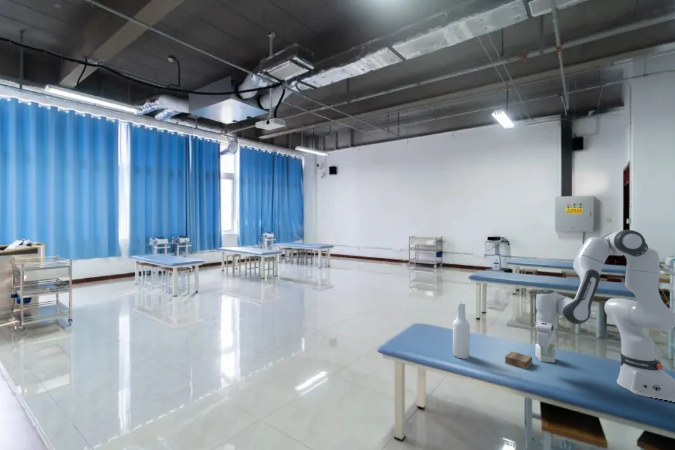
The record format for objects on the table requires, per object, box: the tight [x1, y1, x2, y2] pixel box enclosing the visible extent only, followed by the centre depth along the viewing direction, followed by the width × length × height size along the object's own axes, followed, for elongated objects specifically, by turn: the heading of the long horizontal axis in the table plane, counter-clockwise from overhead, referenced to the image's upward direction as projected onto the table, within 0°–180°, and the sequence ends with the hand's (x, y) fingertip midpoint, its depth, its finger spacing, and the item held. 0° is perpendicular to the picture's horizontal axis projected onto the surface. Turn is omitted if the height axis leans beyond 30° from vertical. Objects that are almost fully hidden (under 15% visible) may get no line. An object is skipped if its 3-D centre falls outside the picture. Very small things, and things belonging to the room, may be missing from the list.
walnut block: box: [504, 351, 533, 370], centre depth 169 cm, size 10×10×4 cm
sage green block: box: [540, 344, 556, 358], centre depth 157 cm, size 5×5×5 cm
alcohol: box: [452, 301, 471, 360], centre depth 179 cm, size 9×9×30 cm
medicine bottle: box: [534, 343, 556, 363], centre depth 175 cm, size 7×7×12 cm
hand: (547, 350), depth 157 cm, fingers closed on sage green block, 5 cm apart
